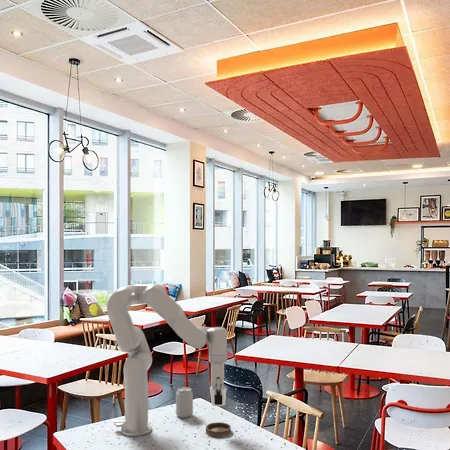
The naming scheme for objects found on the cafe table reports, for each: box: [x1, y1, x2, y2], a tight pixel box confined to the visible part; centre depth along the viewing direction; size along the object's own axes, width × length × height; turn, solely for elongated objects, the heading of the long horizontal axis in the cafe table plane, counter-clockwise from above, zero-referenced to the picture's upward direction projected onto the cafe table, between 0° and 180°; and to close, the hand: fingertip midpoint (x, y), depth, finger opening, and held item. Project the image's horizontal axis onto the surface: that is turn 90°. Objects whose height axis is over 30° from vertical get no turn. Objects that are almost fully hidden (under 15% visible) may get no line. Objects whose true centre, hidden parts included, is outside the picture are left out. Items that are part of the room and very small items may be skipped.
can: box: [175, 386, 194, 419], centre depth 220 cm, size 8×8×12 cm
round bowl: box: [205, 422, 232, 438], centre depth 200 cm, size 10×10×2 cm
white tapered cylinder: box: [209, 384, 227, 407], centre depth 201 cm, size 7×7×7 cm
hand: (218, 401), depth 201 cm, fingers closed on white tapered cylinder, 6 cm apart
